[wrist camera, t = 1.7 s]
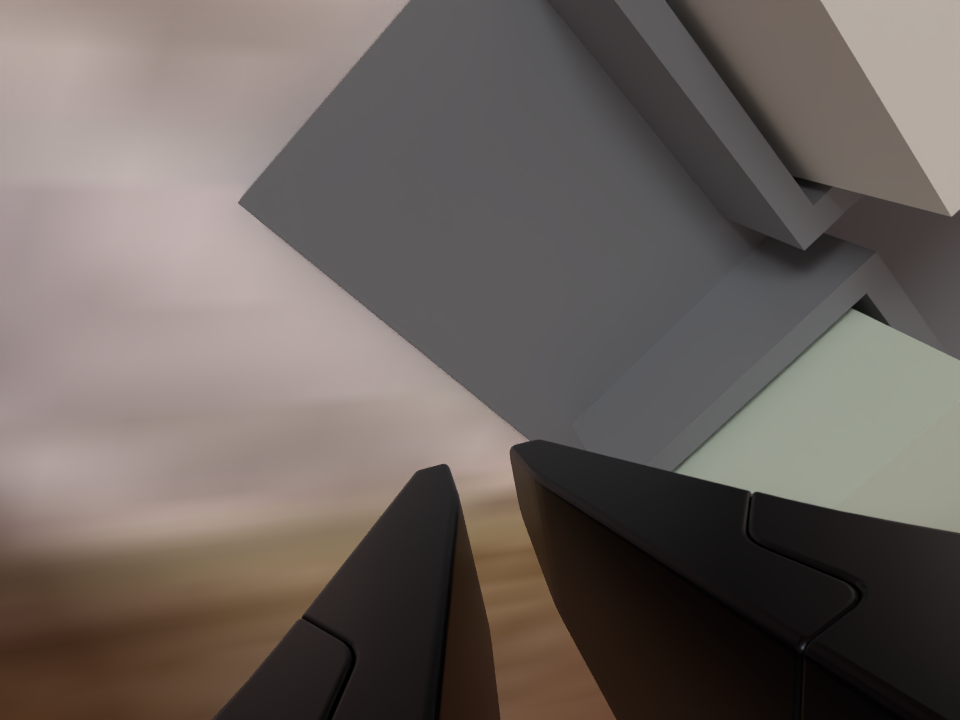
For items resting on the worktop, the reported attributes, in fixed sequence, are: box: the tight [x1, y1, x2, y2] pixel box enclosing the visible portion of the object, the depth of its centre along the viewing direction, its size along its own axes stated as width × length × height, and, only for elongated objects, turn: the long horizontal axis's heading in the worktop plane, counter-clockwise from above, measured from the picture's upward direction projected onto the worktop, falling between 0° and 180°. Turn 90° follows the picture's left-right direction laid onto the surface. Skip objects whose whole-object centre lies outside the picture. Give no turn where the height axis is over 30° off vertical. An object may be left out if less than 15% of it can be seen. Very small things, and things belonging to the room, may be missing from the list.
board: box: [238, 0, 960, 472], centre depth 20 cm, size 20×23×5 cm
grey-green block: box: [672, 308, 960, 533], centre depth 19 cm, size 7×7×6 cm
